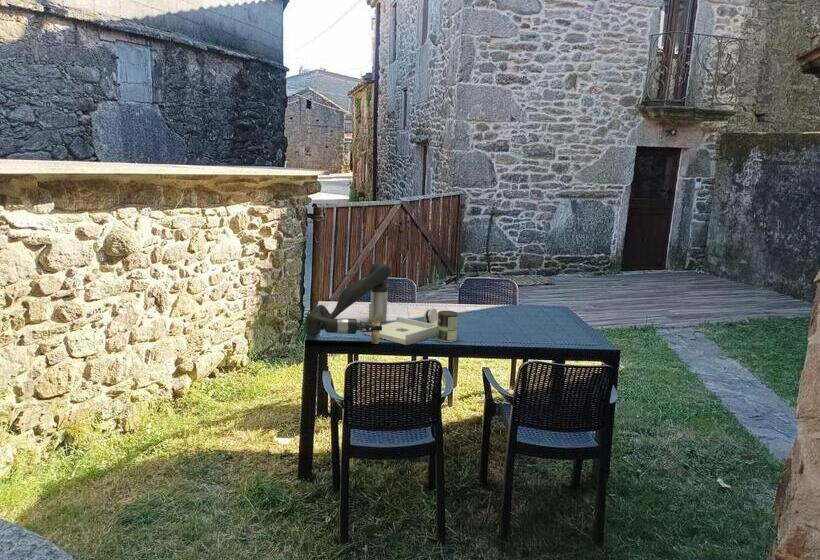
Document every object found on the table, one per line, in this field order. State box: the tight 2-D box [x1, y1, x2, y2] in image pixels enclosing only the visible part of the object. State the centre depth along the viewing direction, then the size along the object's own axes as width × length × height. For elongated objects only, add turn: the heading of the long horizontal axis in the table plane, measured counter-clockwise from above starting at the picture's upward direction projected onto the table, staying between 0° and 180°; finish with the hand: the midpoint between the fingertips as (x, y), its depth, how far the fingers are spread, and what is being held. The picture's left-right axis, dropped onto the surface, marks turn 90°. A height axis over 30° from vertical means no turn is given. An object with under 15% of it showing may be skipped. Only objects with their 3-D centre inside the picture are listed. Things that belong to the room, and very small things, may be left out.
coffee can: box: [436, 310, 459, 343], centre depth 324 cm, size 10×10×14 cm
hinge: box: [423, 308, 438, 325], centre depth 355 cm, size 17×5×10 cm, turn 163°
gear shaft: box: [370, 318, 381, 345], centre depth 312 cm, size 4×4×12 cm
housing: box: [363, 316, 438, 346], centre depth 331 cm, size 28×28×5 cm
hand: (381, 327), depth 312 cm, fingers closed on gear shaft, 4 cm apart
